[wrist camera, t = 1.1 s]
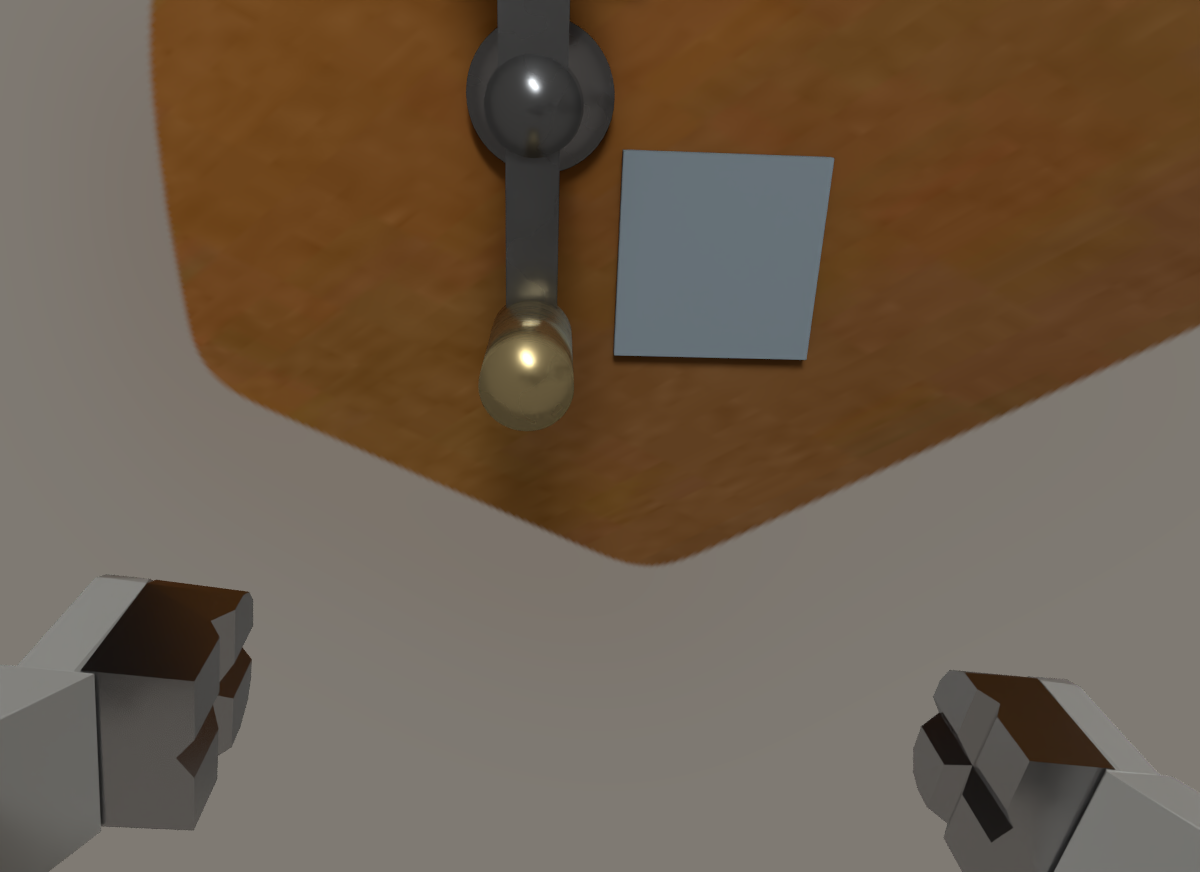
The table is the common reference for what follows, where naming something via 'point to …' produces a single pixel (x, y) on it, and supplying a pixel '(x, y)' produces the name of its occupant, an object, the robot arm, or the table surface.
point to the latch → (531, 214)
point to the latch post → (589, 78)
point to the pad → (719, 253)
